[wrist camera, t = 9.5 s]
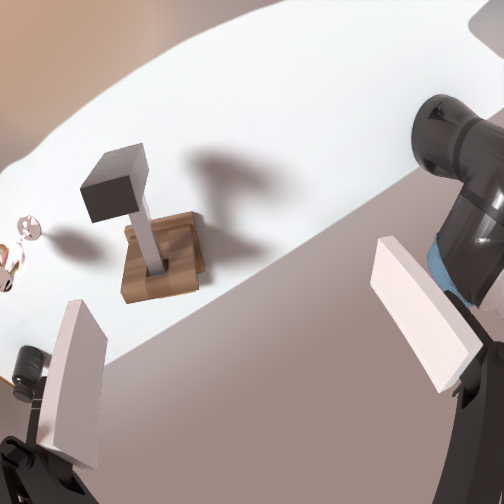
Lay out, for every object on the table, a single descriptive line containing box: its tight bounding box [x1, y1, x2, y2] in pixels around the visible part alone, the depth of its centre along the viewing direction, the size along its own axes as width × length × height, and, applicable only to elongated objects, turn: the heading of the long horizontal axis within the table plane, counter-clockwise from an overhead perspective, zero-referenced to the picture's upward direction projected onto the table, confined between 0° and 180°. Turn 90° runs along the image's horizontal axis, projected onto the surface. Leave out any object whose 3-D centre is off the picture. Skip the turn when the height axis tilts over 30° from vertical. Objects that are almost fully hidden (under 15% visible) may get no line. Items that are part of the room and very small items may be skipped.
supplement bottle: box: [12, 346, 45, 403], centre depth 47 cm, size 7×7×12 cm
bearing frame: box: [121, 211, 205, 304], centre depth 39 cm, size 10×10×13 cm
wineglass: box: [0, 216, 41, 292], centre depth 32 cm, size 6×6×12 cm
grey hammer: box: [80, 143, 167, 276], centre depth 27 cm, size 16×4×9 cm, turn 6°
